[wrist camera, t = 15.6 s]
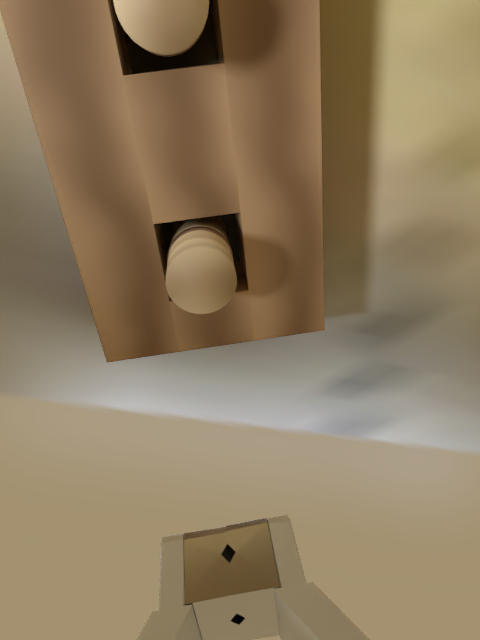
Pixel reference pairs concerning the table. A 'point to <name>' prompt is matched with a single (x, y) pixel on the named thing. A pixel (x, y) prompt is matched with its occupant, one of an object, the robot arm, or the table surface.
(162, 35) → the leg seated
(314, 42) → the board
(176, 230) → the leg
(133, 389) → the table surface
